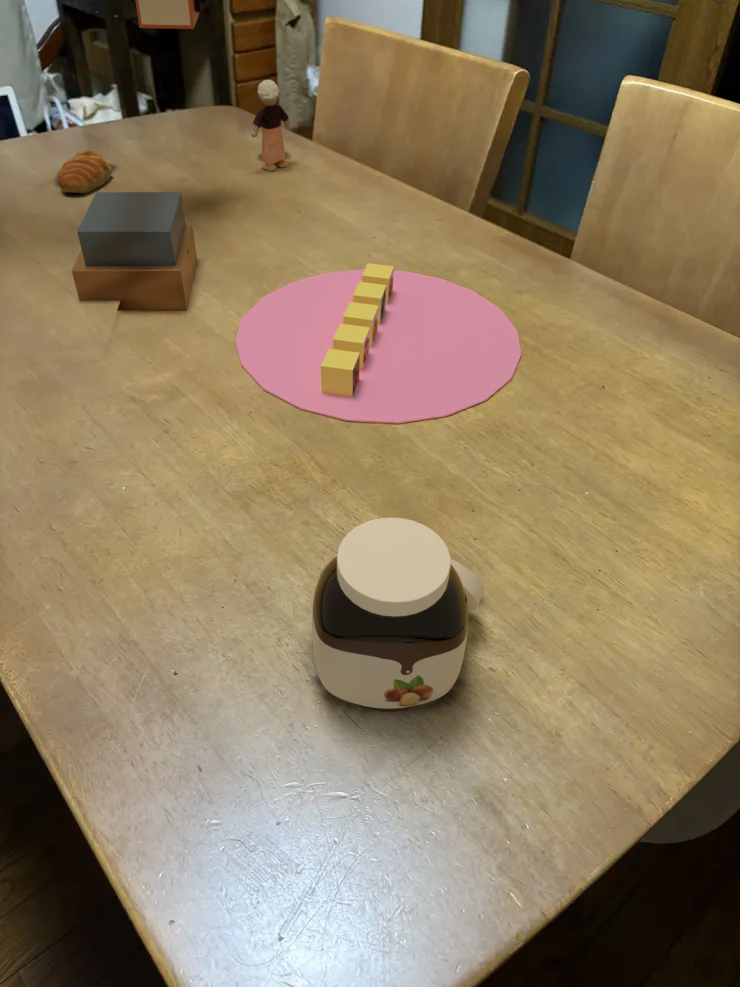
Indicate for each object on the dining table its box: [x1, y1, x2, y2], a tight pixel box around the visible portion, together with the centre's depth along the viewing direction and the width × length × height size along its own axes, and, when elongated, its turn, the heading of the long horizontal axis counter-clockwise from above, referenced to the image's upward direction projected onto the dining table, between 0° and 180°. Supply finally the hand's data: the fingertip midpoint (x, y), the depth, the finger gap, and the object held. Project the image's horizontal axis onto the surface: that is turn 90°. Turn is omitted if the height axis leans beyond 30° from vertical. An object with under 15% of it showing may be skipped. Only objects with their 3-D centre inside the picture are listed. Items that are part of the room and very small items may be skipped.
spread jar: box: [311, 517, 485, 714], centre depth 50 cm, size 12×11×12 cm
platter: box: [234, 262, 522, 425], centre depth 84 cm, size 32×32×3 cm
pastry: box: [58, 149, 113, 194], centre depth 113 cm, size 9×7×4 cm
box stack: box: [71, 191, 198, 311], centre depth 89 cm, size 12×13×9 cm
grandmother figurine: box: [250, 79, 293, 172], centre depth 117 cm, size 8×4×13 cm, turn 145°
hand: (169, 8), depth 94 cm, fingers closed on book, 6 cm apart
